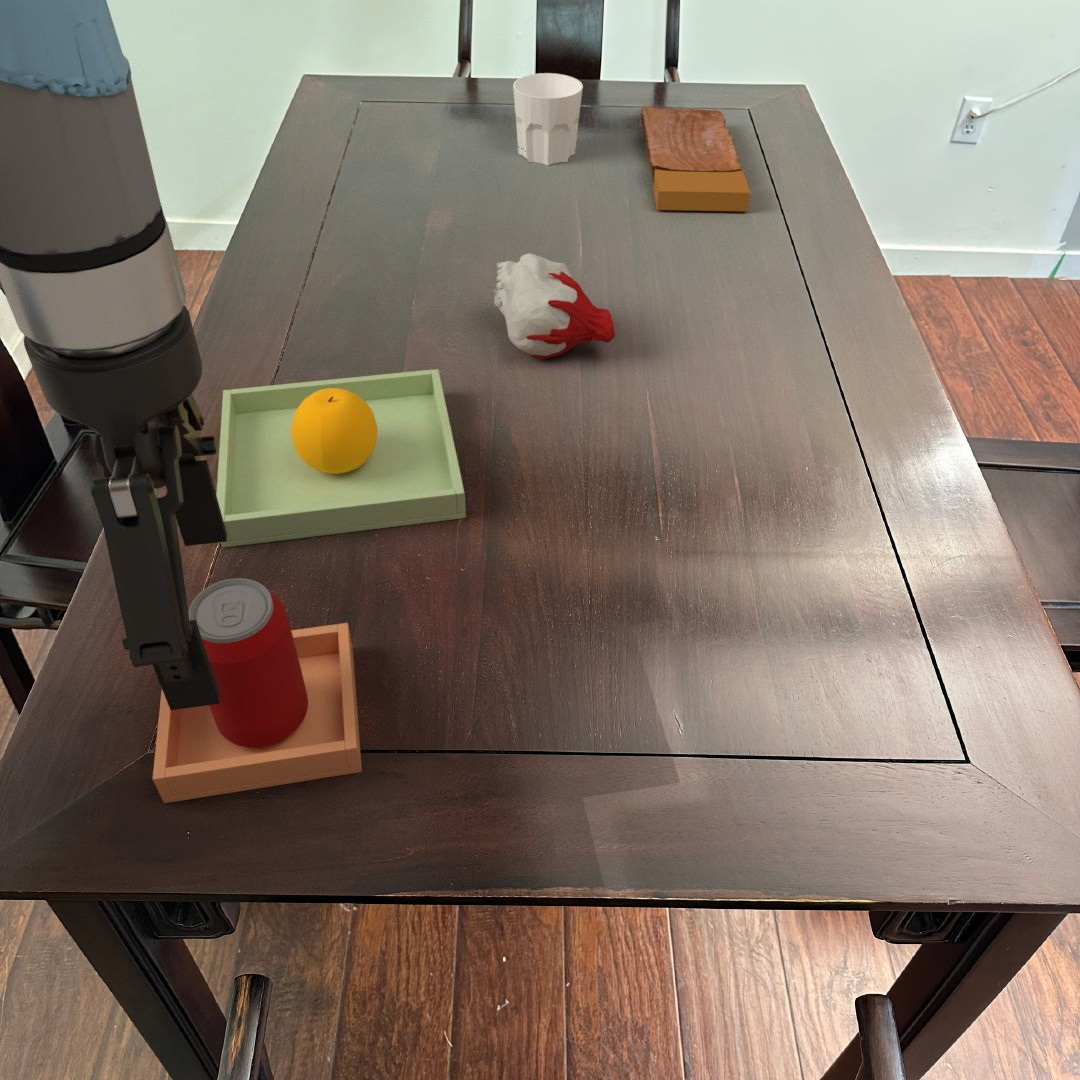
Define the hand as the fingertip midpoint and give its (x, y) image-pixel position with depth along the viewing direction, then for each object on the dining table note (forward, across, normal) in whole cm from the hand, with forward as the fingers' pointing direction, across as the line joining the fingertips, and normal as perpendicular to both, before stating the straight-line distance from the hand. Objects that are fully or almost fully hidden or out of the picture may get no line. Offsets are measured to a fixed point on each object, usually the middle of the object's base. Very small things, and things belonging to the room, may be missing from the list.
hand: (201, 615), depth 60 cm
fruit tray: (+14, -31, +9) cm, 35 cm away
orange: (+14, -31, +9) cm, 35 cm away
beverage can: (+14, -2, +2) cm, 14 cm away
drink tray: (+14, -2, +2) cm, 14 cm away
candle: (+14, -48, +33) cm, 60 cm away
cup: (+14, -99, +43) cm, 109 cm away
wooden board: (+13, -91, +63) cm, 111 cm away
